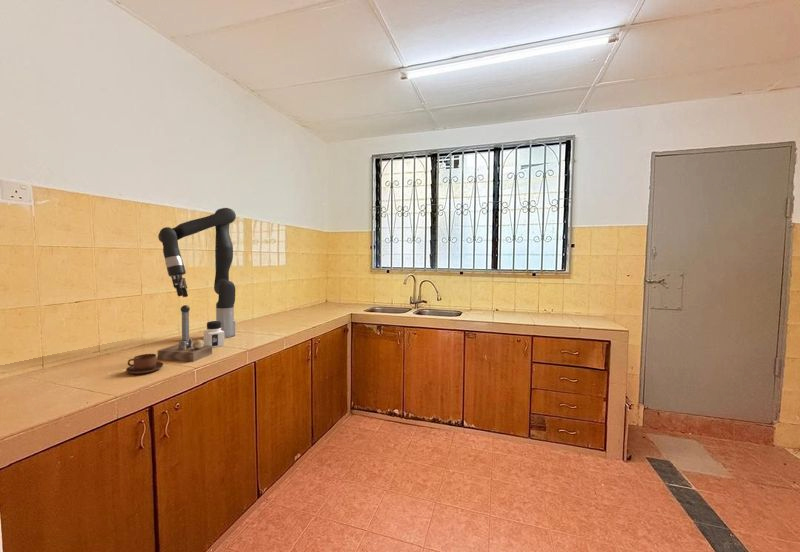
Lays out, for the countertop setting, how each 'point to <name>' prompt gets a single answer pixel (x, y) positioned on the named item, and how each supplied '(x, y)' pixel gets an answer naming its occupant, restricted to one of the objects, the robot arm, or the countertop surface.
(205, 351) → the bench block
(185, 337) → the lever
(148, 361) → the cup and saucer
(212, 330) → the container
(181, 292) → the robot arm
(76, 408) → the countertop surface
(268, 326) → the countertop surface
